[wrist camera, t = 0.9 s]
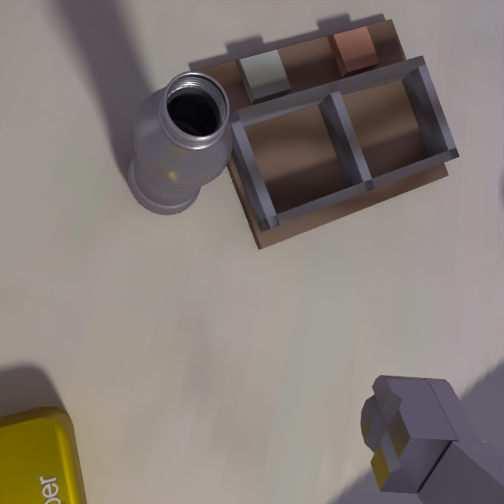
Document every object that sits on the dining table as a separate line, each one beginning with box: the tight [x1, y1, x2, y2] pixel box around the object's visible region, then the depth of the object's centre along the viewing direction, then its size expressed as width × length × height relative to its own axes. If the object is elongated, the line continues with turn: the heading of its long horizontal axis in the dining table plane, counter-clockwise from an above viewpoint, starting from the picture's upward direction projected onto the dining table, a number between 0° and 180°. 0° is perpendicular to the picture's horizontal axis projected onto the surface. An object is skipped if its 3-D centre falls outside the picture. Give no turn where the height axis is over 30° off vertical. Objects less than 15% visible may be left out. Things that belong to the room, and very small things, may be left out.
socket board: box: [195, 19, 459, 249], centre depth 47 cm, size 18×23×4 cm
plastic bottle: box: [127, 71, 232, 215], centre depth 34 cm, size 6×7×20 cm
